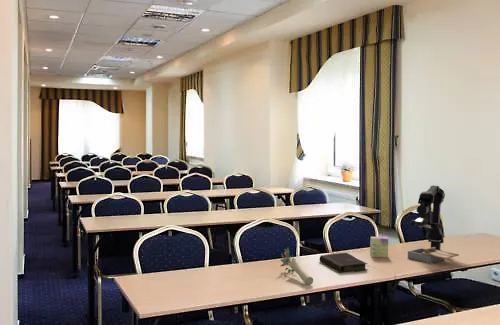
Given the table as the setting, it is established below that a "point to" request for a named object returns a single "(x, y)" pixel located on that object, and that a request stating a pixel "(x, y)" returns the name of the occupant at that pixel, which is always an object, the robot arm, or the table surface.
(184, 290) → the table surface
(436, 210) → the robot arm
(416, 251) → the base
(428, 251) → the lid
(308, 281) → the flower vase
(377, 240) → the box
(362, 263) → the diary
